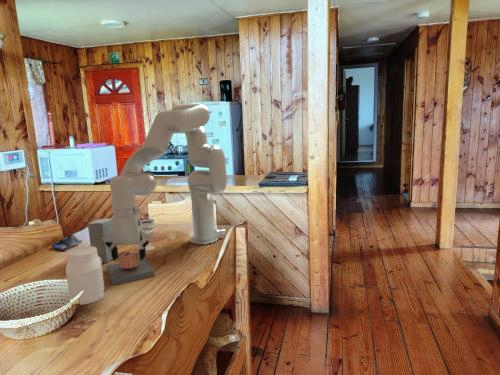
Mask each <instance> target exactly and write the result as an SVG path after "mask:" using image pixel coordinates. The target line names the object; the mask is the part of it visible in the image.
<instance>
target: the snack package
mask: <svg viewBox="0 0 500 375" xmlns="http://www.w3.org/2000/svg"><path fill="white" fill-rule="evenodd" d="M81 243H82V240H81V239H80V238H78V237H77V236H76V235H75V234H74V233H72V232H70V233H69V234H68V235H67V236H65V238H61V239H60V240H57V241H56V242H54V243H53V244H51V248H55V249H57V251H59V252H66V251H67V250H69V249H71V248H72V247H74V246H75V247H76V246H77V245H79V244H81Z"/></svg>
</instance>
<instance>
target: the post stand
mask: <svg viewBox="0 0 500 375" xmlns="http://www.w3.org/2000/svg"><path fill="white" fill-rule="evenodd" d="M148 261H149V260H148V259H146V257H145V258H144V259H143V260H140V258H139V265H138V266H136V267H134V268H128V269H124V268H121V267H120V263H119V262H118V263H113V264H108V265H106V272H107V274H108V277H109V280H110V282H111V286H115V285H121V284H124V283H129V282H133V281H139V280H143V279H149V278H151V277H155V270H154V268H153V266H152V265H151V264H150V263H149V262H148Z"/></svg>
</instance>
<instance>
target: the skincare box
mask: <svg viewBox="0 0 500 375" xmlns="http://www.w3.org/2000/svg"><path fill="white" fill-rule="evenodd" d="M111 220H112V218H98V219H95V220H93V221H91V222H89V223H87V228H88V235H89V242H90V244H89V245H90V246H93V247H96V248H97V254H98V256H99V257H100V258H101V261H102V264H108V263H109V262H111V261H113V257H112V254H111V250H110V249H109V247H108V246H107V245H106V244H105V242H104V241H103V239H102V237H104V236H105V235H107V234H109V233H111ZM108 239H109V241H110V242H112V240H111V237H109V238H108ZM116 247H117V248H118V245H116Z"/></svg>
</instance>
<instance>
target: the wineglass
mask: <svg viewBox="0 0 500 375" xmlns="http://www.w3.org/2000/svg"><path fill="white" fill-rule="evenodd" d="M140 221H141V225H142V231H143V232H145V233H147V234H149V235H151V234H150V233H152V232H153V231H154V230H156V223H155V222H156V220H155V219H154V218H146V219H145V218H143V219H140ZM155 249H156V246H152V245H151V246H150V243H149V244H148V245H147V246H146V247H145V251H153V250H155Z"/></svg>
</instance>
